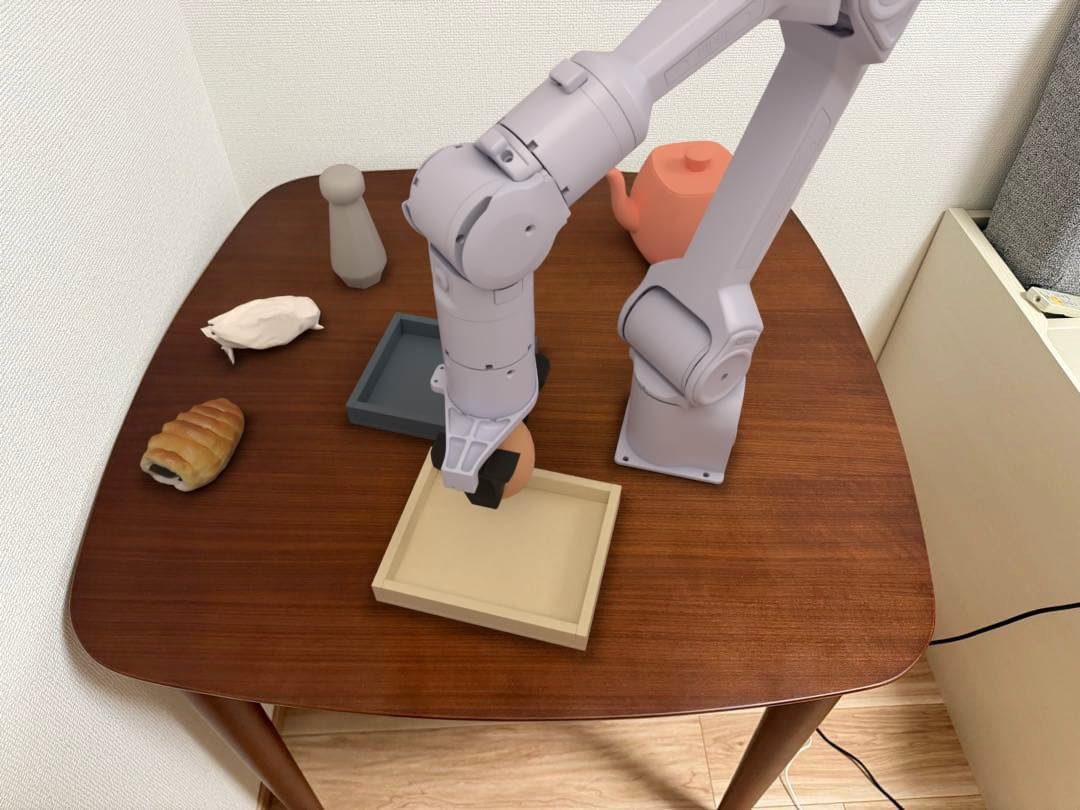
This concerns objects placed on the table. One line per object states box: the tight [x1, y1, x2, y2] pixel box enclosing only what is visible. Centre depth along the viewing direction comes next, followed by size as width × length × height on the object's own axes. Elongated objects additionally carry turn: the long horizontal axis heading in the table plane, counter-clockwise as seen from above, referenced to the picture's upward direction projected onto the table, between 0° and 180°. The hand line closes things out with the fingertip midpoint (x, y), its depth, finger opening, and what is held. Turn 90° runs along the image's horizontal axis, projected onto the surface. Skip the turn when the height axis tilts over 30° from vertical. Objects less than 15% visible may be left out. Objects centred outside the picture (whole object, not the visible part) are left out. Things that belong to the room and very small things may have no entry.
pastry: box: [139, 397, 245, 492], centre depth 72 cm, size 9×7×4 cm
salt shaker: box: [318, 163, 388, 290], centre depth 83 cm, size 6×6×13 cm
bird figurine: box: [200, 295, 325, 365], centre depth 80 cm, size 5×7×10 cm
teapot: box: [604, 140, 734, 266], centre depth 86 cm, size 13×20×12 cm, turn 100°
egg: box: [497, 421, 536, 500], centre depth 59 cm, size 6×6×8 cm
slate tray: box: [345, 311, 539, 441], centre depth 77 cm, size 15×13×2 cm
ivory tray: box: [370, 446, 623, 652], centre depth 65 cm, size 17×14×2 cm
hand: (497, 467), depth 60 cm, fingers closed on egg, 6 cm apart
